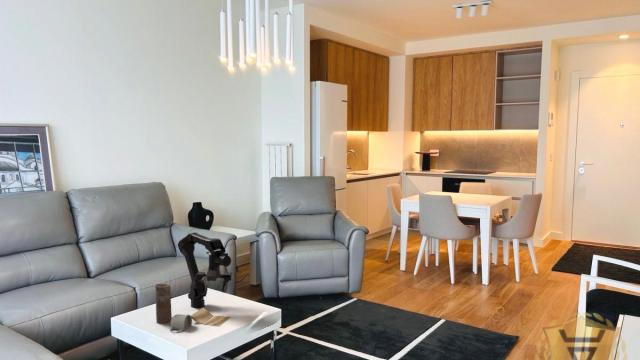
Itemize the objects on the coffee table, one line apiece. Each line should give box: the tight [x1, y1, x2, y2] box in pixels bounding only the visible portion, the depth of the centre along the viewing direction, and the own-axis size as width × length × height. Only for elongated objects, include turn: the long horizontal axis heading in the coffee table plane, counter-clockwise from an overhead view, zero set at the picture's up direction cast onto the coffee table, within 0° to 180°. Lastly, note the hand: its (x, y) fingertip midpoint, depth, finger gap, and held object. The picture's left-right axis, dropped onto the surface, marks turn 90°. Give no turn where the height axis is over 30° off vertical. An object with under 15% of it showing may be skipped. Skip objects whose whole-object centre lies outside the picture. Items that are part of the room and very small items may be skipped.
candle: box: [154, 283, 173, 325], centre depth 238 cm, size 8×7×20 cm
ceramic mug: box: [169, 314, 193, 336], centre depth 229 cm, size 11×8×8 cm
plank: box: [190, 307, 215, 325], centre depth 241 cm, size 7×12×1 cm
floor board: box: [202, 315, 232, 327], centre depth 239 cm, size 9×13×1 cm
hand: (214, 292), depth 250 cm, fingers open, 9 cm apart
